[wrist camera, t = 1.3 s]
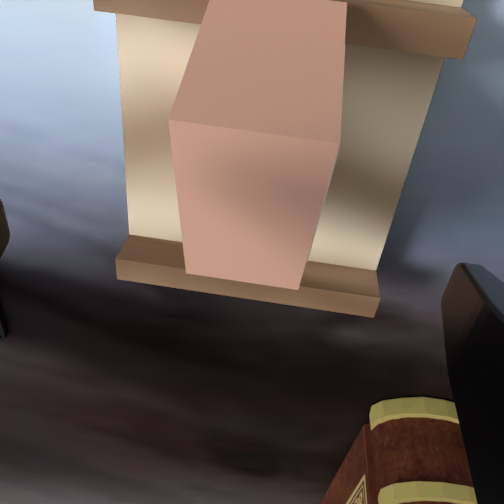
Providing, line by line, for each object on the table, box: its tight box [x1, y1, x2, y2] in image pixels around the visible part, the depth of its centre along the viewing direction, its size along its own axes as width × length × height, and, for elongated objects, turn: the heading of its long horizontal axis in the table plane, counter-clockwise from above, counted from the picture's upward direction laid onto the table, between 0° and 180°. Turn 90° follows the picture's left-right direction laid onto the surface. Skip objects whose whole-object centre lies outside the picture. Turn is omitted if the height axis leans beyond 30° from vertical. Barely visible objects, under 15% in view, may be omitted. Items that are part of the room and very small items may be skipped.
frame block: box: [168, 0, 347, 290], centre depth 16 cm, size 7×4×6 cm, turn 174°
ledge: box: [93, 0, 477, 318], centre depth 17 cm, size 24×12×4 cm, turn 174°
